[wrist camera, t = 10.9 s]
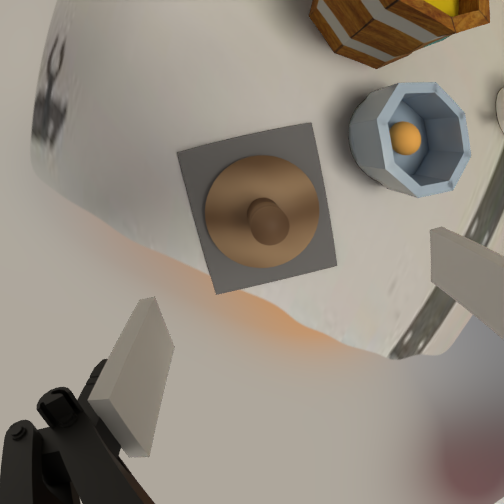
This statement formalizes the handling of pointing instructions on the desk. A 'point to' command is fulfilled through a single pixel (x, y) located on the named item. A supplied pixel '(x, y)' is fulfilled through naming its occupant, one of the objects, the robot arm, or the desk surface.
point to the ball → (405, 138)
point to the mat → (231, 150)
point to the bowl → (432, 138)
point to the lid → (262, 211)
